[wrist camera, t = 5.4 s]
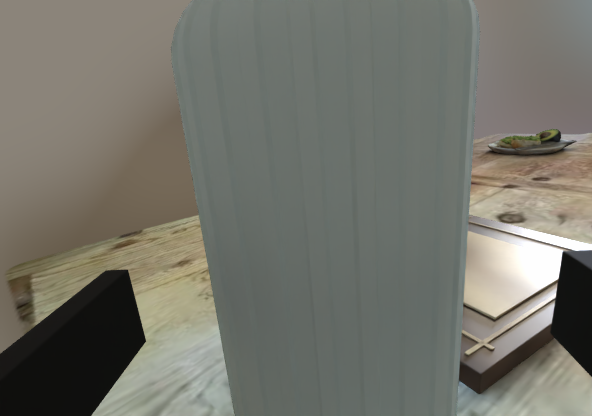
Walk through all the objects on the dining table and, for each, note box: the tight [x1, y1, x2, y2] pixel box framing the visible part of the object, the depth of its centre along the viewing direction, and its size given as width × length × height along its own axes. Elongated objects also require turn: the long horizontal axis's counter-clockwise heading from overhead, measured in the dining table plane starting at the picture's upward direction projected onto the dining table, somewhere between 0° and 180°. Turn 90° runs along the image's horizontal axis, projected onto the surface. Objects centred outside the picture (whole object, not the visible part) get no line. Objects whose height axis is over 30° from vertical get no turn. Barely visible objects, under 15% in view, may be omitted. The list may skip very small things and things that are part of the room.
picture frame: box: [459, 215, 592, 394], centre depth 34 cm, size 24×18×2 cm
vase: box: [171, 0, 480, 416], centre depth 17 cm, size 12×12×22 cm
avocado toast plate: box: [488, 129, 577, 155], centre depth 91 cm, size 19×18×5 cm
